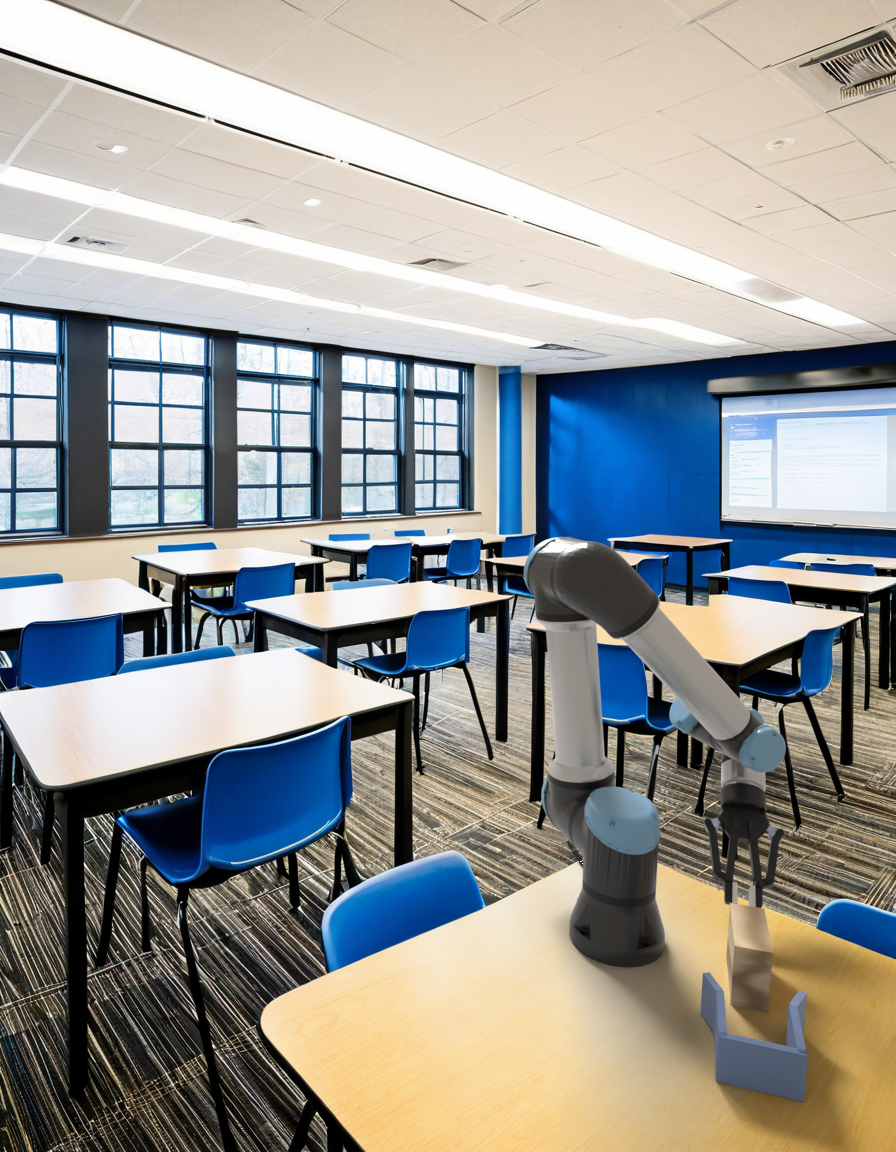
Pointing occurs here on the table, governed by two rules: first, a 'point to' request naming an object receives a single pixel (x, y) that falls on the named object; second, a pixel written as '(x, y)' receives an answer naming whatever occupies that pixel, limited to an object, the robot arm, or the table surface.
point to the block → (749, 957)
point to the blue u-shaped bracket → (757, 1049)
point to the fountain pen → (575, 852)
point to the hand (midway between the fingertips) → (743, 927)
